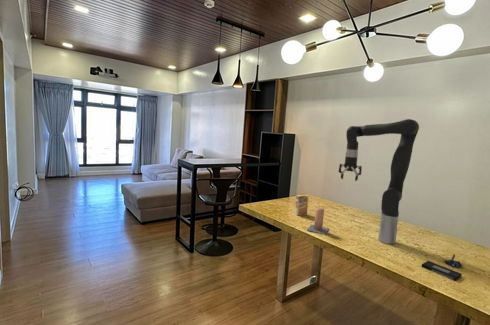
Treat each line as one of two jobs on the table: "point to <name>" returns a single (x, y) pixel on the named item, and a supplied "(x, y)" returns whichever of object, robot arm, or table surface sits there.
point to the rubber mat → (311, 229)
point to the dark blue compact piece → (453, 262)
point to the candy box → (301, 205)
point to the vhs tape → (441, 270)
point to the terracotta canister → (319, 219)
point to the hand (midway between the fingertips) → (349, 180)
